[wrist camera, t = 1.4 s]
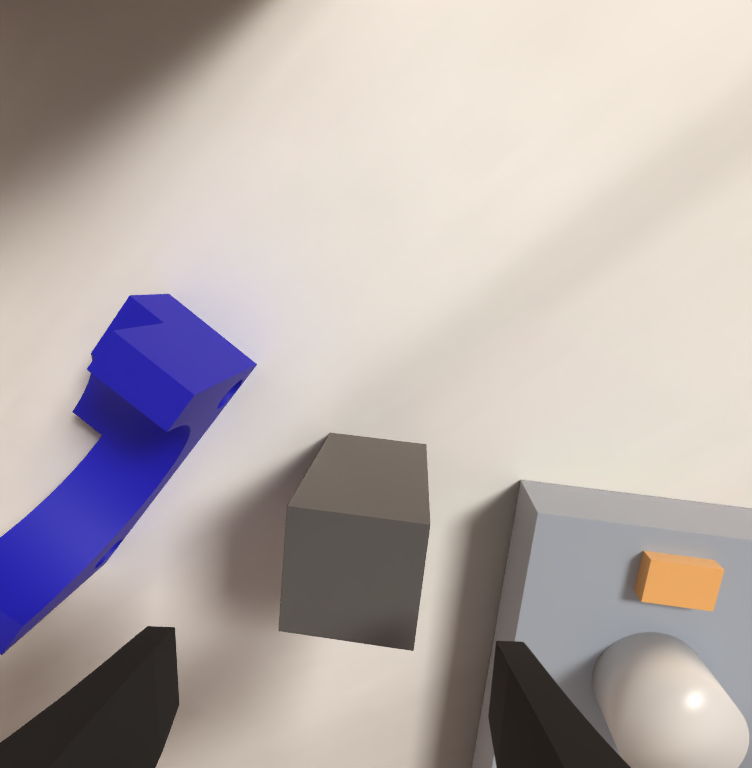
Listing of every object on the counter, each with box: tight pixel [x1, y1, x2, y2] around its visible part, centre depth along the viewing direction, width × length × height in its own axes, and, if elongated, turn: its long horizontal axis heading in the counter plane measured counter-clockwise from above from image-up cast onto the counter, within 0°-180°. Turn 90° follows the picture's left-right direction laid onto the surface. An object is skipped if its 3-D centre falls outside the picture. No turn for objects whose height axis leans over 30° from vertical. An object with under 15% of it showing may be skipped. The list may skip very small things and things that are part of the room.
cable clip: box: [0, 294, 257, 655], centre depth 19 cm, size 12×4×6 cm, turn 141°
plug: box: [279, 433, 430, 651], centre depth 18 cm, size 4×4×7 cm
